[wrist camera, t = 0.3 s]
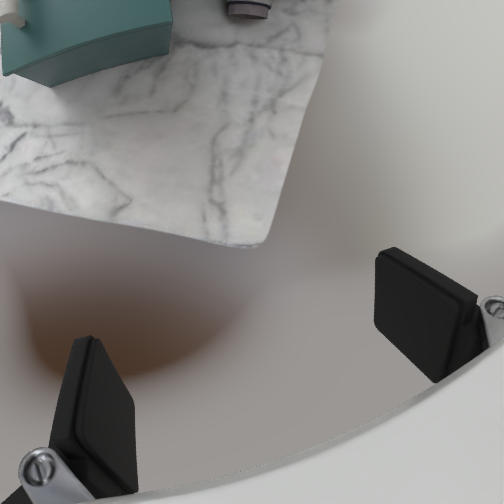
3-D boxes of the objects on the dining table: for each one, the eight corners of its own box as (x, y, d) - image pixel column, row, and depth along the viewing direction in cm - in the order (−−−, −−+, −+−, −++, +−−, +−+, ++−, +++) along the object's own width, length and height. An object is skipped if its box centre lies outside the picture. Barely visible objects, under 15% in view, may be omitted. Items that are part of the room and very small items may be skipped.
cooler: (49, 87, 28) (13, 73, 18) (44, 2, 23) (14, -32, 13) (168, 54, 31) (172, 24, 21) (157, -30, 26) (159, -75, 16)
